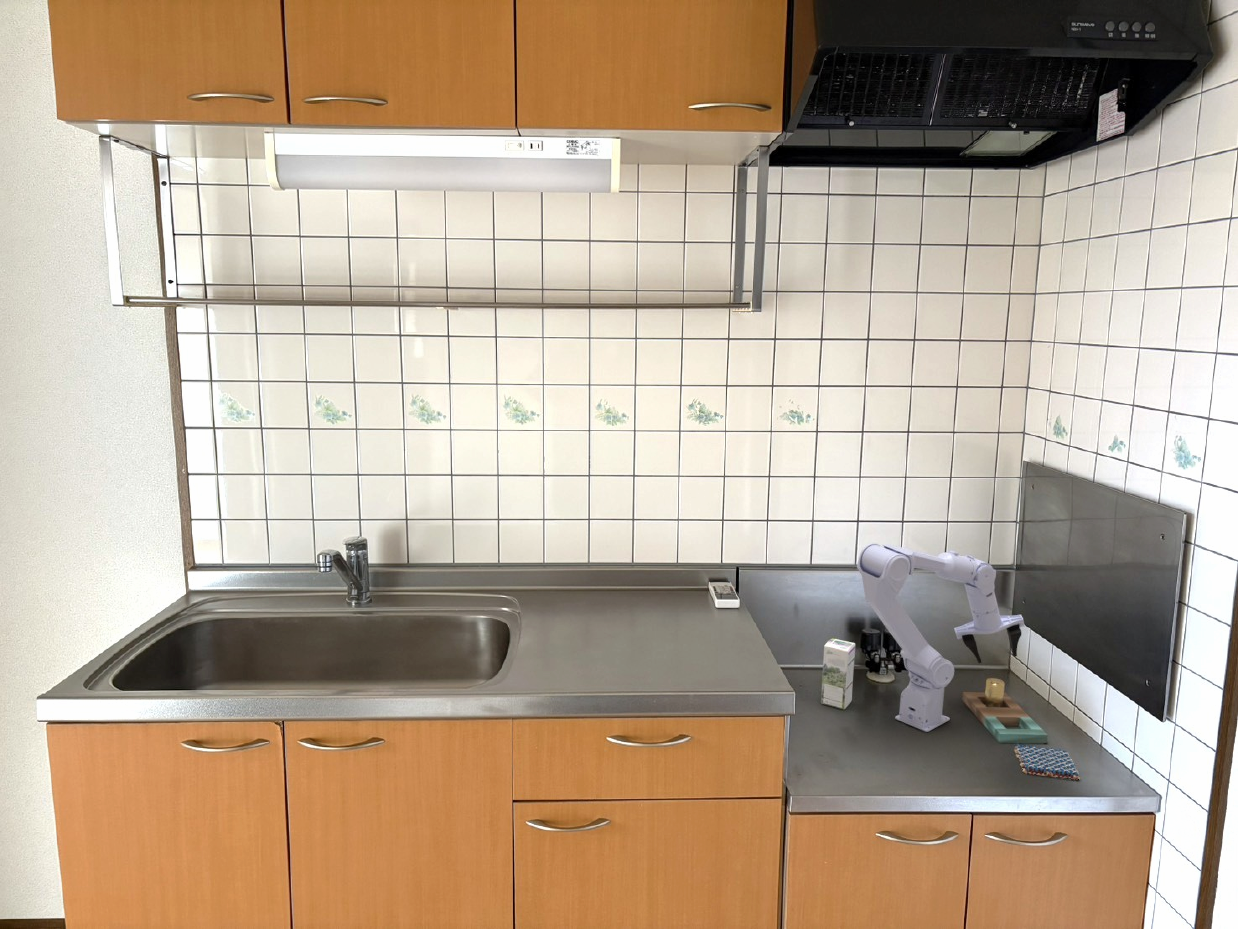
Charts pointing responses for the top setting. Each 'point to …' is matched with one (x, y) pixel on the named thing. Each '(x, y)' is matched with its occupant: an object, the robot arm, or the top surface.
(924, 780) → the top surface
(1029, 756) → the woven mat
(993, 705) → the brass pin
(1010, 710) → the docking plate
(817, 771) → the top surface
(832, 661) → the syrup box
